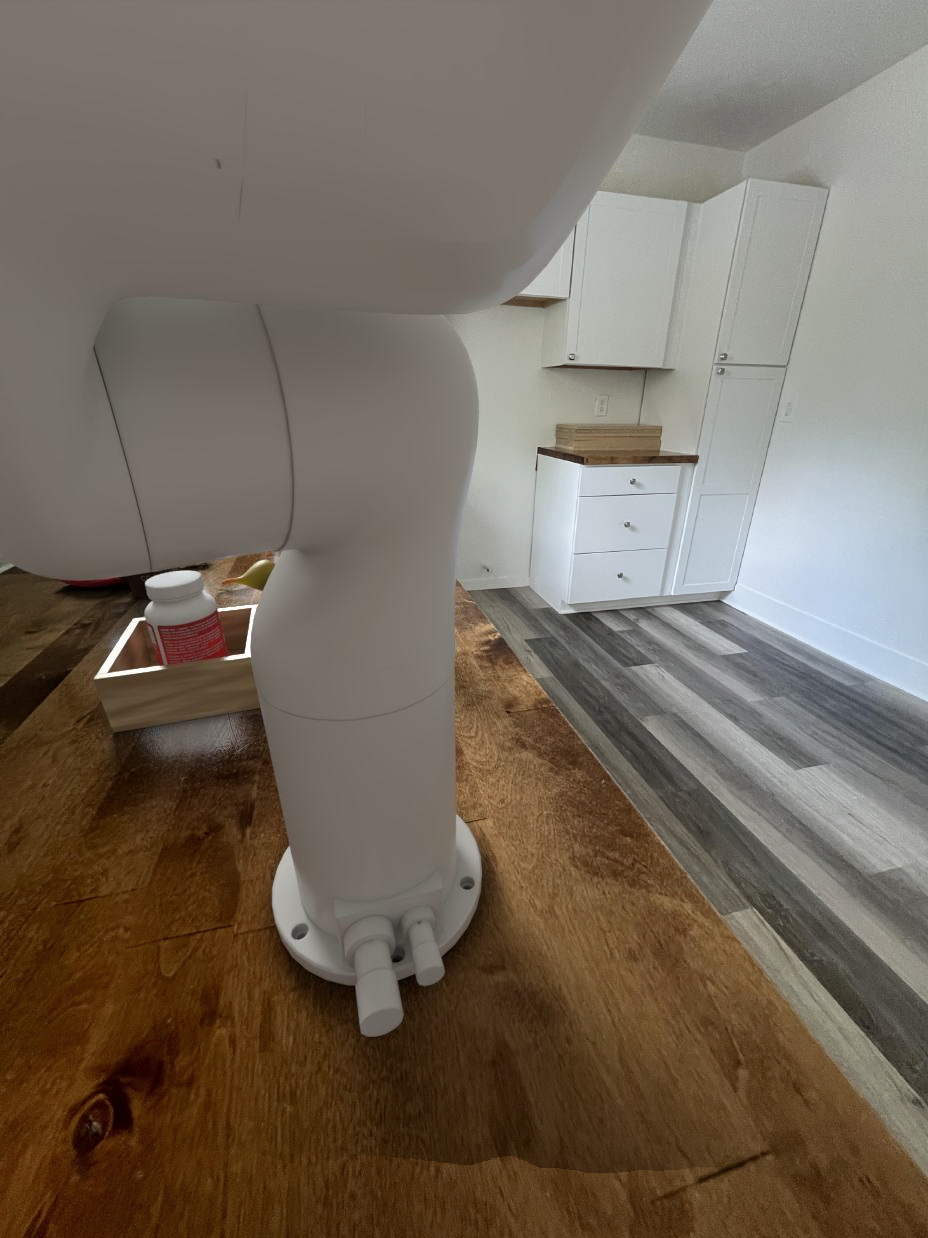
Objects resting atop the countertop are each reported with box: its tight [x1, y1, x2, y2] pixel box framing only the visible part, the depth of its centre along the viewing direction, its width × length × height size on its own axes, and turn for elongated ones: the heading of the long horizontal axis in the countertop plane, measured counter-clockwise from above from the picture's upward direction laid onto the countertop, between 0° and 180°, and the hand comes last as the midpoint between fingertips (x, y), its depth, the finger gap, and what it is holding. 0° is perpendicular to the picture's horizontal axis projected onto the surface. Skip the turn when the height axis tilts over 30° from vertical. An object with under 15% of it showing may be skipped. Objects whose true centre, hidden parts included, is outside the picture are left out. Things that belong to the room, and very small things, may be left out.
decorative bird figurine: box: [51, 578, 128, 588], centre depth 78 cm, size 3×18×10 cm
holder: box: [92, 603, 261, 733], centre depth 50 cm, size 13×13×6 cm
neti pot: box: [221, 559, 276, 592], centre depth 70 cm, size 4×15×6 cm, turn 131°
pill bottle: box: [143, 570, 229, 666], centre depth 49 cm, size 6×6×11 cm
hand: (196, 379), depth 38 cm, fingers open, 9 cm apart
